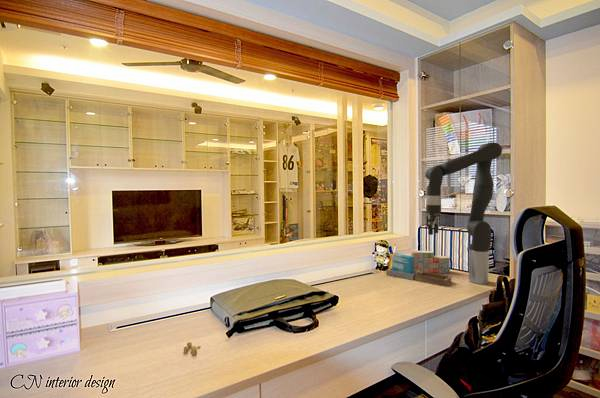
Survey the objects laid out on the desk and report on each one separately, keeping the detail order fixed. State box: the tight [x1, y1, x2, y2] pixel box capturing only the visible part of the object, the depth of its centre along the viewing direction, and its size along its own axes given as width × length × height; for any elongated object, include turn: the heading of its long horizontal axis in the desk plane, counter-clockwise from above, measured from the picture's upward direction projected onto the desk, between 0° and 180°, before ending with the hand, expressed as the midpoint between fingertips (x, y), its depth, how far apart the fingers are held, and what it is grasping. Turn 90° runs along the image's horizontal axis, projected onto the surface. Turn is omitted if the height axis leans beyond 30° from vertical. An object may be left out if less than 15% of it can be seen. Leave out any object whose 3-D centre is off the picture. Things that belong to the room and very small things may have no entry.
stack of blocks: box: [410, 250, 451, 274], centre depth 193 cm, size 21×6×12 cm, turn 81°
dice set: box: [183, 341, 202, 355], centre depth 99 cm, size 5×5×2 cm
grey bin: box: [385, 267, 420, 281], centre depth 183 cm, size 10×16×3 cm, turn 49°
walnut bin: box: [414, 272, 452, 287], centre depth 172 cm, size 10×16×3 cm, turn 48°
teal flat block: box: [391, 253, 414, 274], centre depth 183 cm, size 12×4×12 cm, turn 37°
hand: (433, 233), depth 172 cm, fingers open, 8 cm apart
